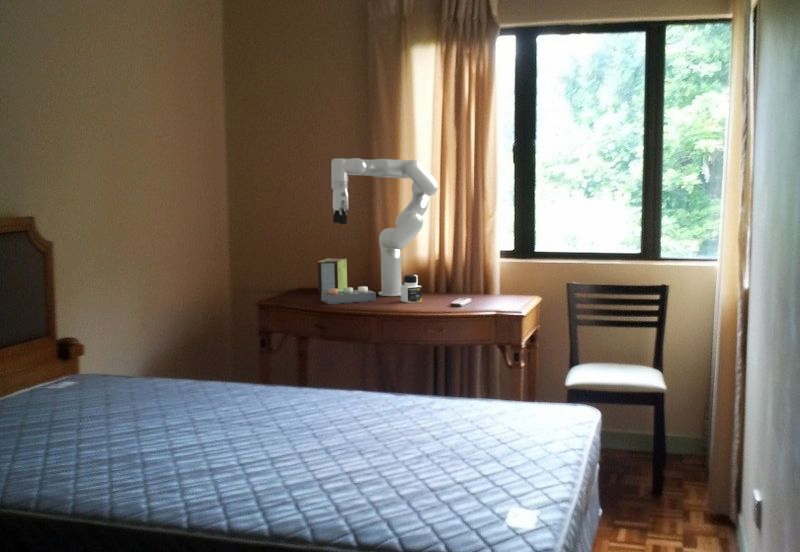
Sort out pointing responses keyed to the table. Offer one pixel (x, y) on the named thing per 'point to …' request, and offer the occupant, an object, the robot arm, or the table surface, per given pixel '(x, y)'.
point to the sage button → (348, 290)
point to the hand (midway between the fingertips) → (339, 223)
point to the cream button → (363, 289)
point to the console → (348, 297)
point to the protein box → (332, 274)
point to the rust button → (333, 291)
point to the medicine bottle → (411, 289)
